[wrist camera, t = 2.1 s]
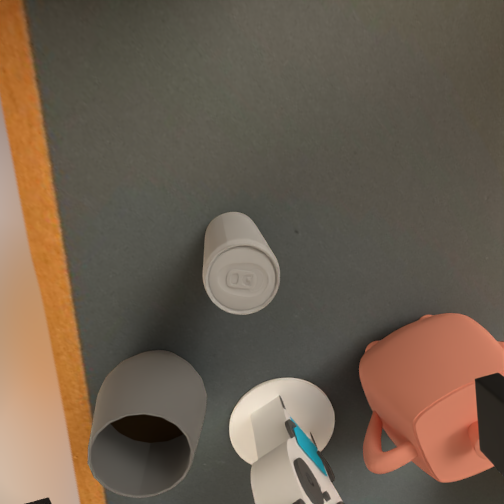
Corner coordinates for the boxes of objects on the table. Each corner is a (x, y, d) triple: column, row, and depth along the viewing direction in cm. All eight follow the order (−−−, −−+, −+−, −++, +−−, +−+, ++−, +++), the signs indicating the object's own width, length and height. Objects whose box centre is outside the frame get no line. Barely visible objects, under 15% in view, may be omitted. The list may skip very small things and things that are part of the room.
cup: (111, 330, 35) (74, 397, 25) (211, 336, 36) (212, 403, 26) (108, 416, 37) (72, 508, 27) (202, 419, 38) (199, 508, 29)
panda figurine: (355, 432, 41) (435, 584, 26) (272, 488, 42) (305, 665, 27) (296, 357, 38) (350, 484, 23) (207, 419, 38) (205, 579, 24)
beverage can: (253, 264, 35) (275, 320, 23) (202, 258, 34) (197, 313, 22) (261, 214, 33) (288, 246, 22) (208, 206, 33) (207, 236, 21)
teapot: (353, 438, 41) (409, 550, 30) (310, 356, 38) (354, 445, 26) (516, 357, 41) (637, 438, 29) (487, 266, 37) (611, 317, 26)
